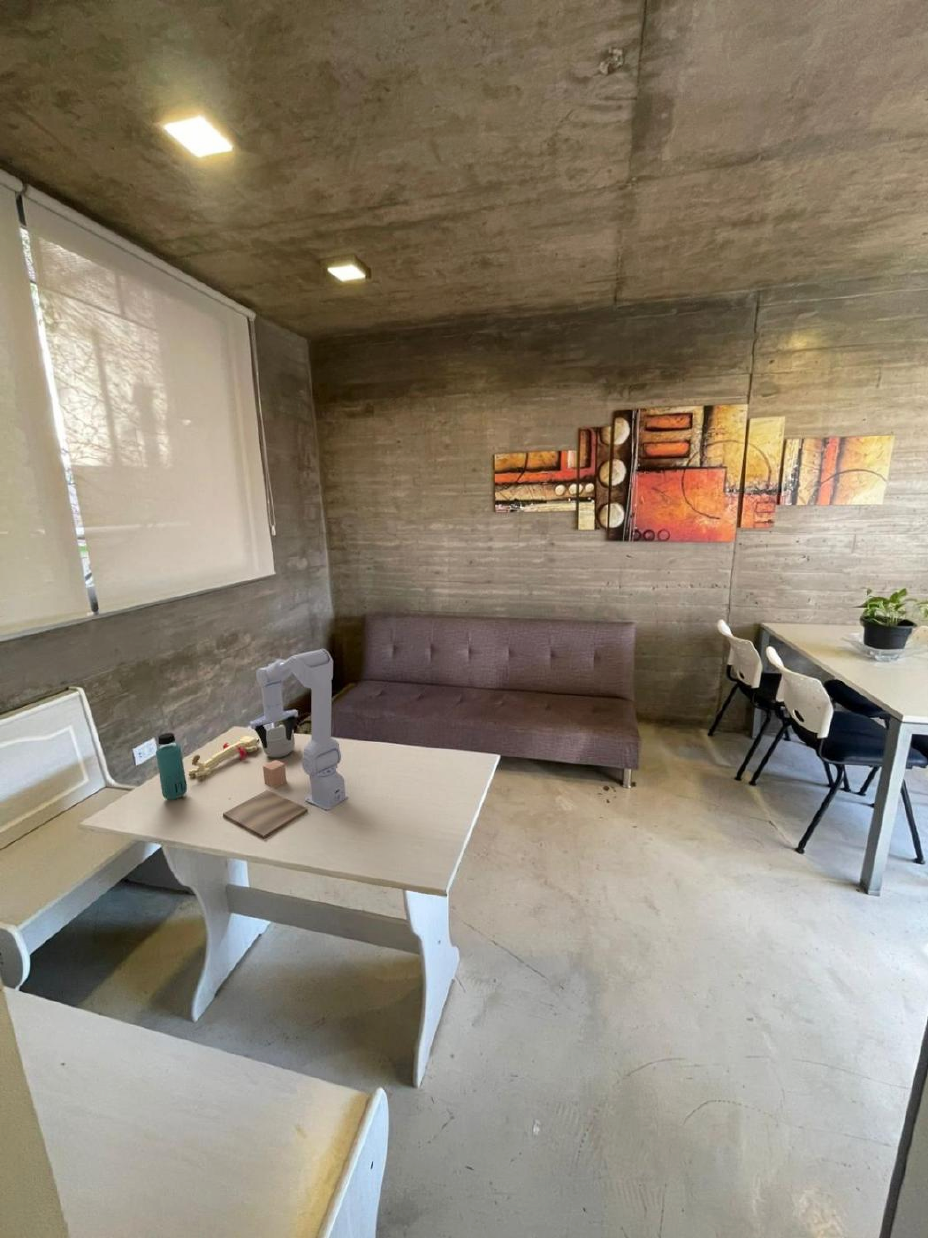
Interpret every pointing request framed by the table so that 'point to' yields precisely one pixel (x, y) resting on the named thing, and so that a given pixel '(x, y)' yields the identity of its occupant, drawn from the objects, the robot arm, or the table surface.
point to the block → (274, 773)
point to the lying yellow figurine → (223, 756)
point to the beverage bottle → (171, 767)
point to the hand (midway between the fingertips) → (277, 743)
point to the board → (265, 813)
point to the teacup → (278, 742)
